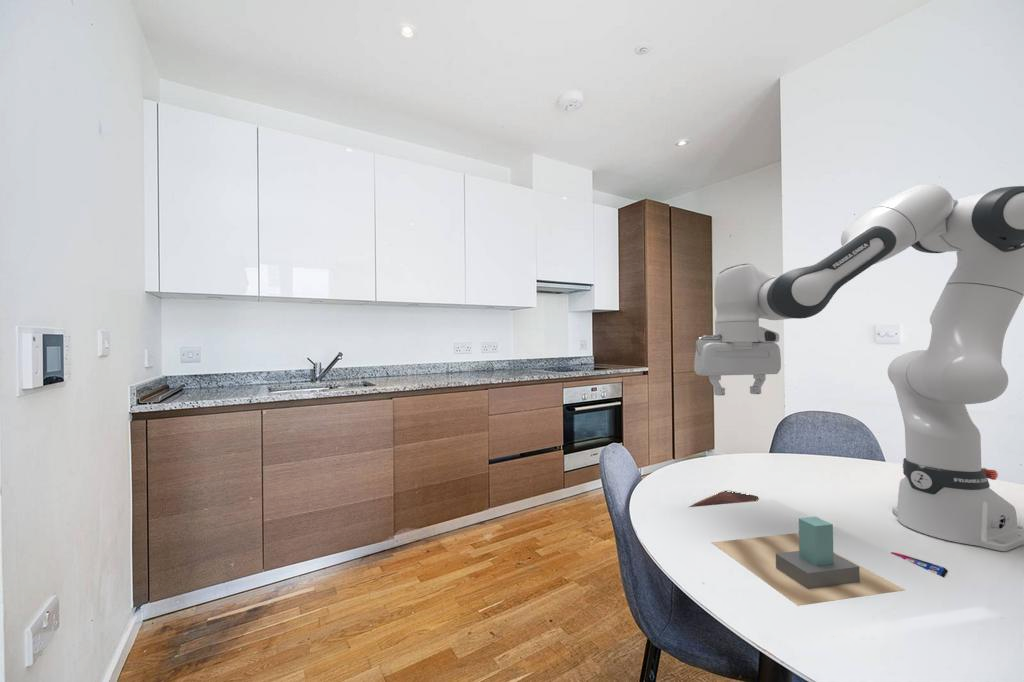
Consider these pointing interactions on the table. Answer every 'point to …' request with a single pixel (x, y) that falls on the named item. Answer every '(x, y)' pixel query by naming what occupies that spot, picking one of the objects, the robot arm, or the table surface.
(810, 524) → the sanding block
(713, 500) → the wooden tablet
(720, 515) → the table surface
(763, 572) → the board
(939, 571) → the blue red thin stick
